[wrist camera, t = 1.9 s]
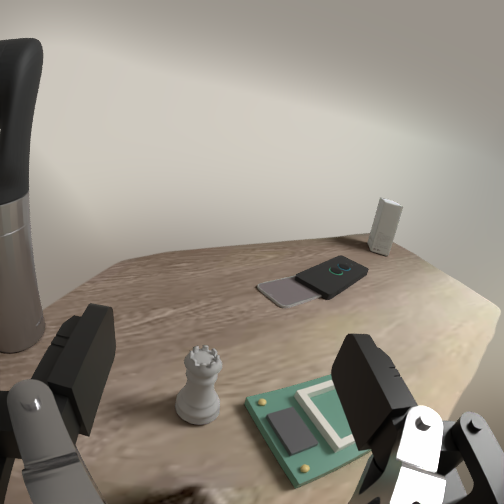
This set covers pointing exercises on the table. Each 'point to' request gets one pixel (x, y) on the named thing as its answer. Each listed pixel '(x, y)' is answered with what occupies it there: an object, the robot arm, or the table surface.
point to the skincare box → (384, 226)
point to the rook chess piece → (200, 387)
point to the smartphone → (287, 292)
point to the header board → (305, 429)
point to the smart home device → (332, 276)
